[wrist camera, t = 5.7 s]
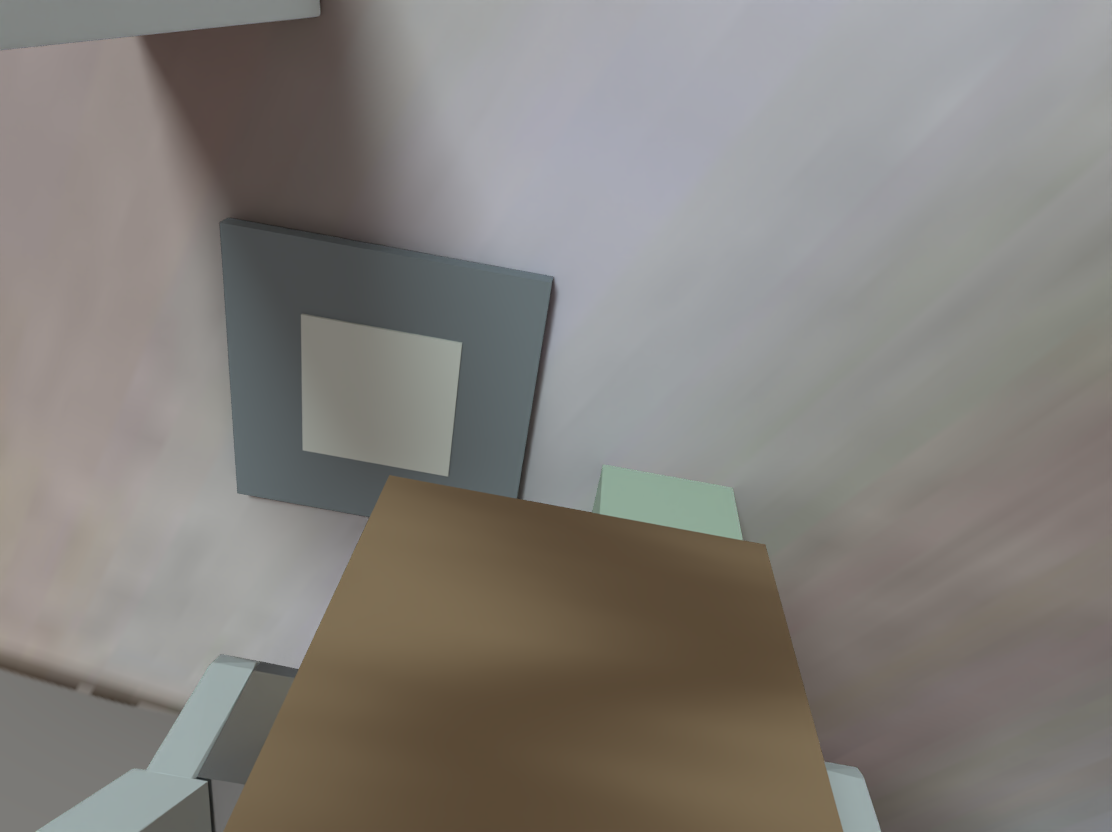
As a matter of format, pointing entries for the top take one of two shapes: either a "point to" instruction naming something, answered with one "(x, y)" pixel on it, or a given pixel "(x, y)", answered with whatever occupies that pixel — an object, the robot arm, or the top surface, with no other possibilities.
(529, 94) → the top surface
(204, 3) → the milk
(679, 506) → the green block
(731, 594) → the walnut block
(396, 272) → the coaster
